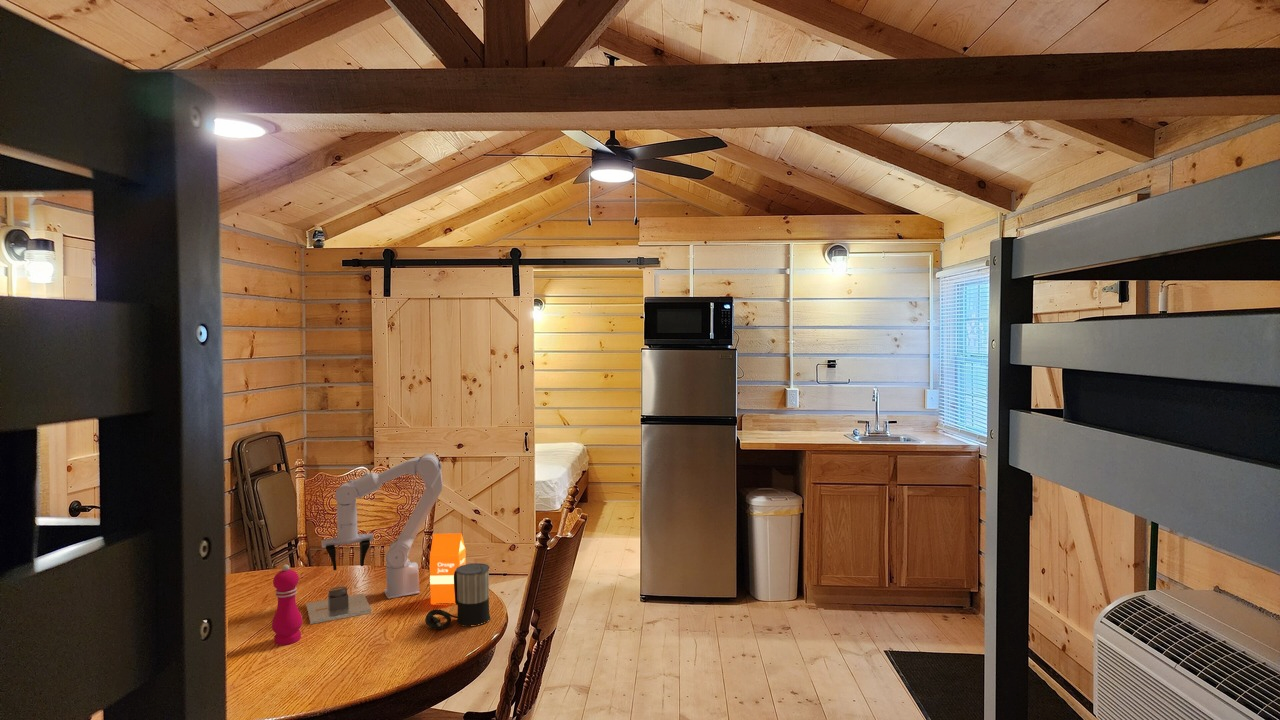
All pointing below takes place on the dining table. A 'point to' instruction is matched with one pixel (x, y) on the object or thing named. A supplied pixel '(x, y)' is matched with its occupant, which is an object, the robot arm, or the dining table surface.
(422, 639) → the dining table surface
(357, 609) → the flat square panel
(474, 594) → the milk frother
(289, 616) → the pepper mill
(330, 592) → the knob
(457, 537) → the orange juice
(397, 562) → the robot arm
